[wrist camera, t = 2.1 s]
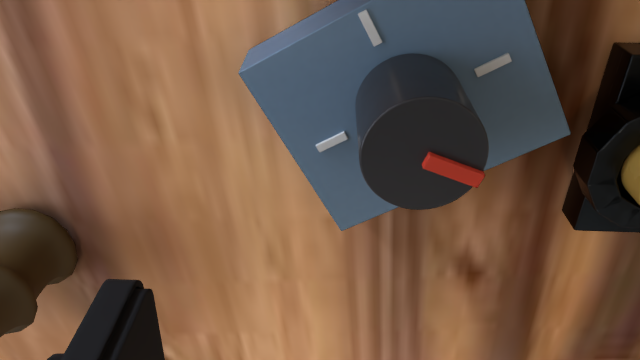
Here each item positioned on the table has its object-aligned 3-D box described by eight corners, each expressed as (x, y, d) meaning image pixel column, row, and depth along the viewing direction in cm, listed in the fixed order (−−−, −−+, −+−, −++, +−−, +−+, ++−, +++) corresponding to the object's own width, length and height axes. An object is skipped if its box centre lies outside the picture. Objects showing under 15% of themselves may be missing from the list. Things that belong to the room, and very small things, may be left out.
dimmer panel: (481, -80, 21) (501, -70, 19) (547, 106, 25) (572, 136, 23) (248, 50, 24) (237, 74, 22) (340, 197, 28) (341, 233, 25)
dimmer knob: (339, 131, 23) (339, 192, 19) (382, 35, 21) (393, 80, 17) (431, 165, 24) (451, 230, 19) (482, 76, 21) (517, 128, 17)
